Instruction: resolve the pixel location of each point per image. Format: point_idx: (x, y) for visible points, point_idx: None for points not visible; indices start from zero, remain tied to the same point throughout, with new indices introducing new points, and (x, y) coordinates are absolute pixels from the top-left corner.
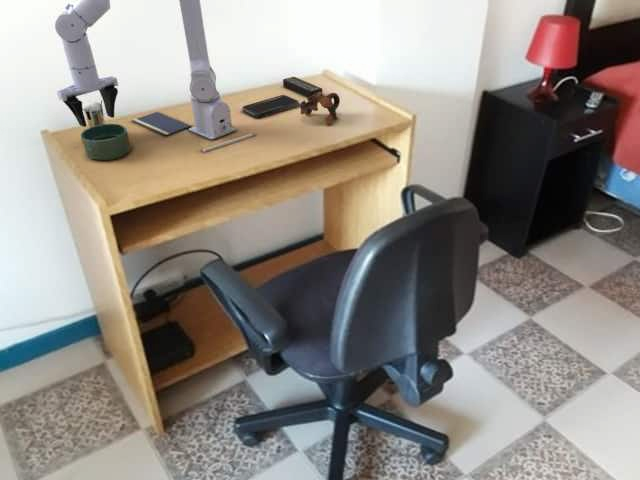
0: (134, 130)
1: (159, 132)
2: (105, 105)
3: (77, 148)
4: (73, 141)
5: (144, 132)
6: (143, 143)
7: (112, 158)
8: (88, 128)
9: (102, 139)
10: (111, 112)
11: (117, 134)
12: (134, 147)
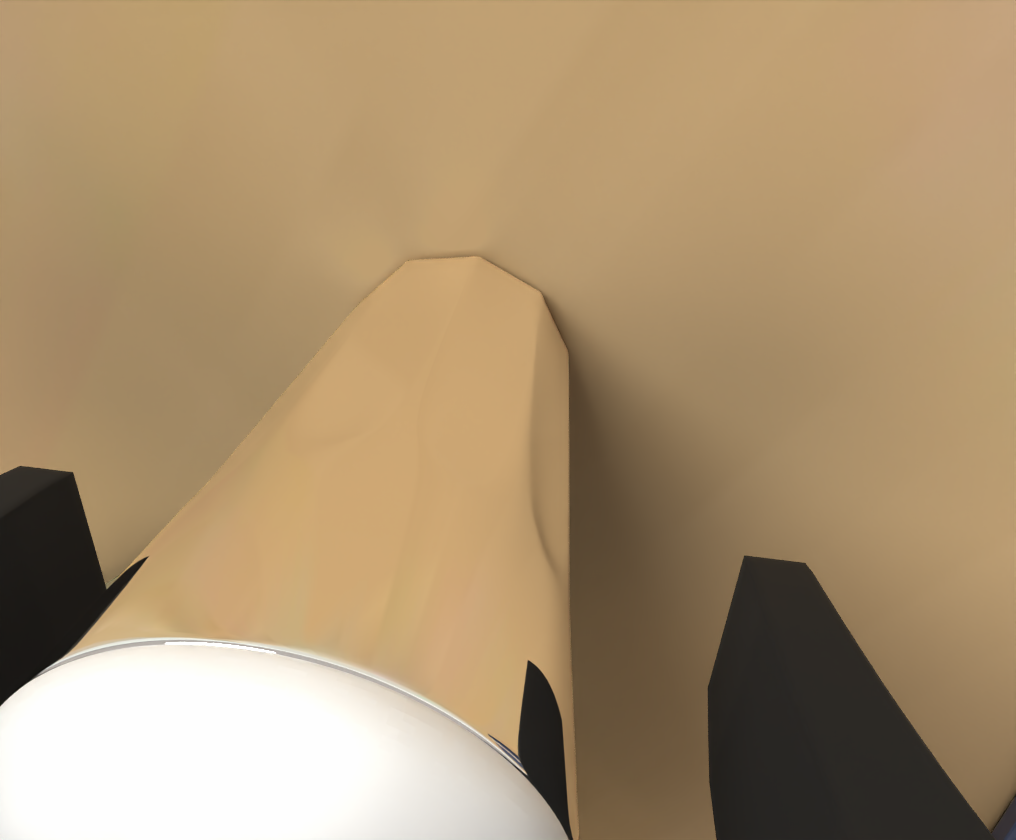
0: (972, 535)
1: (1006, 836)
2: (807, 791)
3: (39, 373)
4: (60, 93)
5: (965, 673)
6: (680, 820)
7: None
8: None
9: None
10: (715, 826)
11: None
12: None
